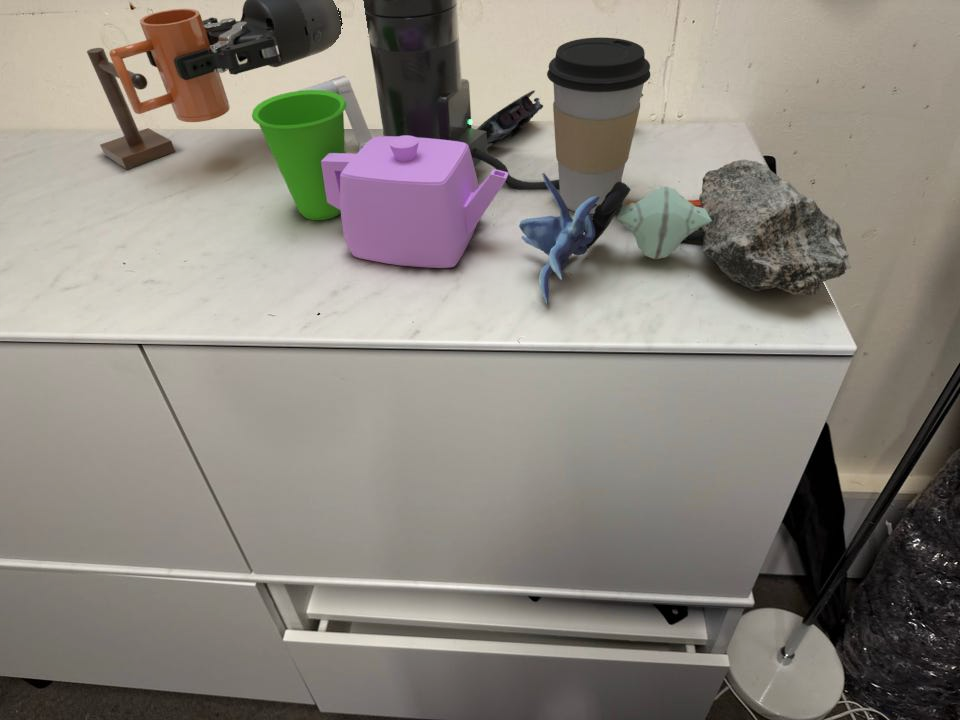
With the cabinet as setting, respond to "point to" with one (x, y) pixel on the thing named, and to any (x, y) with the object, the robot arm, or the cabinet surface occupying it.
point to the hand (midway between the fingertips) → (163, 63)
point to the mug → (167, 41)
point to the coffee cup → (595, 113)
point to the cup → (304, 143)
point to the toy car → (510, 119)
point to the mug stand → (127, 119)
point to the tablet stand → (348, 106)
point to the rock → (768, 231)
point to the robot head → (662, 221)
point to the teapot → (409, 199)
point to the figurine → (570, 230)
